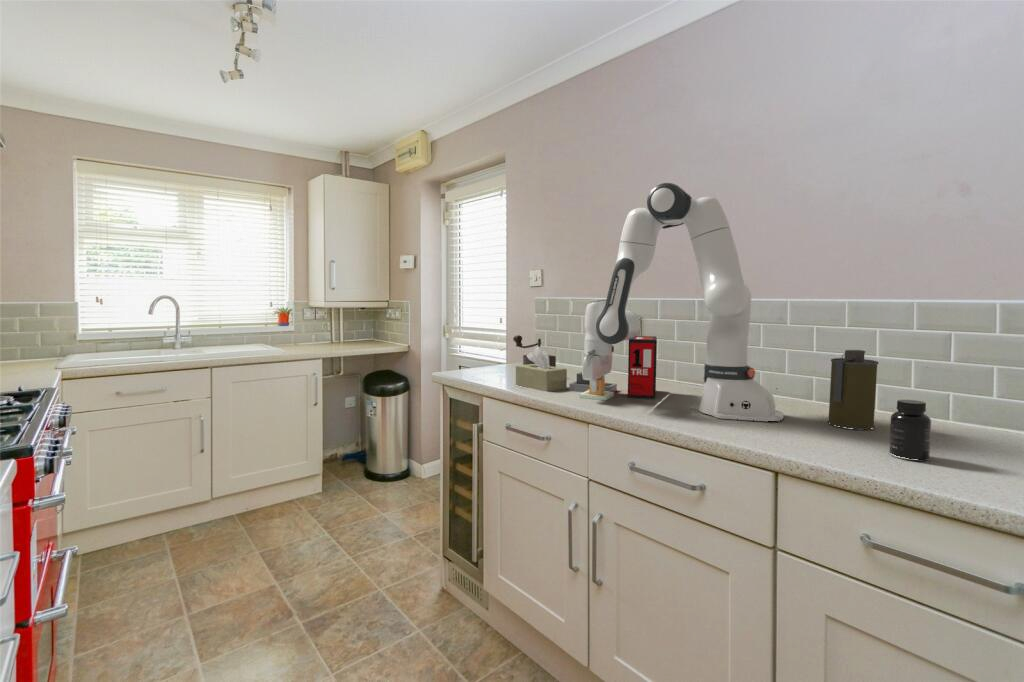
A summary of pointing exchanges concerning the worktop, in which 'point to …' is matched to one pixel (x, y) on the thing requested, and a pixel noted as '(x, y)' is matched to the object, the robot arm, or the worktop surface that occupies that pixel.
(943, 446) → the worktop surface
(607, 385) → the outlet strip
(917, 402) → the supplement bottle
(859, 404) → the canister
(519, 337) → the pepper mill
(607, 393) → the tray
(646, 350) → the cleaning product box
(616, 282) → the robot arm
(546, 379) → the tissue box
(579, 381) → the black plug
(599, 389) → the orange plug
